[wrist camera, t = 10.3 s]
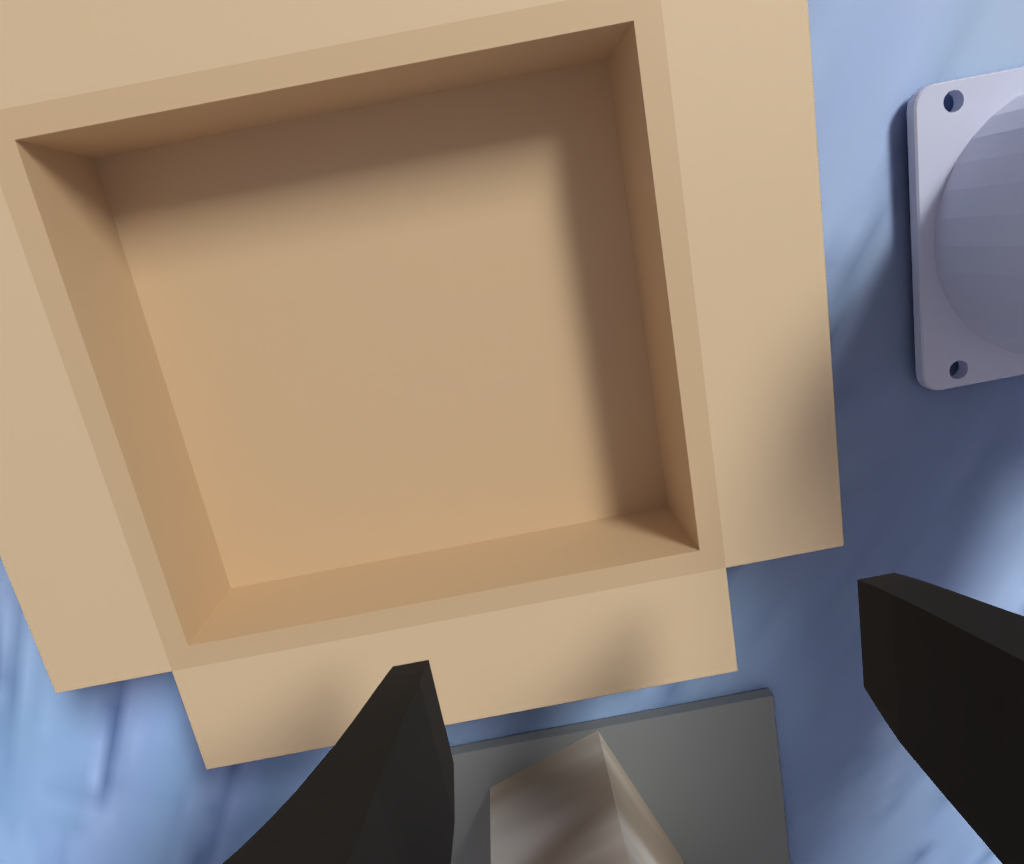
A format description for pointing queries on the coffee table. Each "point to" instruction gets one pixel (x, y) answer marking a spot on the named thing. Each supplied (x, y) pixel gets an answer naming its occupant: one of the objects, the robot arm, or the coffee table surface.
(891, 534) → the coffee table surface
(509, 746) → the slate mat
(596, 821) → the block
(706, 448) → the carton
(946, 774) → the robot arm
